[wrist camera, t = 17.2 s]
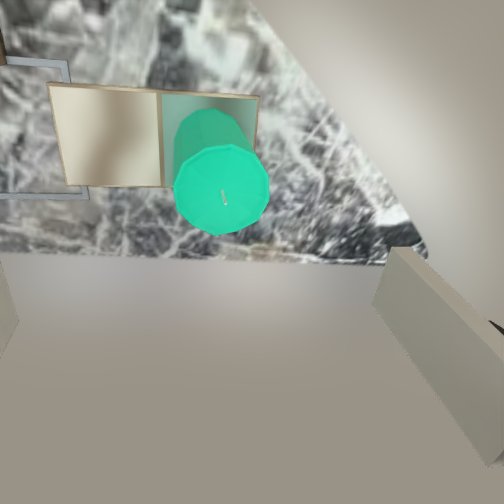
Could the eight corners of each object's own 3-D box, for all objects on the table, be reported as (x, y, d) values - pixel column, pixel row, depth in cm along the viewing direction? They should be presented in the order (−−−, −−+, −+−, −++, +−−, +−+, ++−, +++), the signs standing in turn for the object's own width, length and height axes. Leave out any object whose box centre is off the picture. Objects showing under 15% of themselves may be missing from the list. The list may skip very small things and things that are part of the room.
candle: (161, 122, 29) (153, 174, 19) (231, 96, 29) (260, 135, 19) (190, 188, 32) (196, 261, 22) (253, 165, 32) (287, 228, 22)
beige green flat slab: (68, 182, 31) (65, 186, 30) (49, 81, 27) (45, 83, 26) (250, 186, 34) (251, 189, 33) (258, 95, 30) (260, 97, 29)
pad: (-52, 197, 30) (-53, 198, 30) (-109, 46, 24) (-111, 46, 24) (89, 199, 32) (88, 200, 32) (67, 60, 26) (66, 60, 26)
